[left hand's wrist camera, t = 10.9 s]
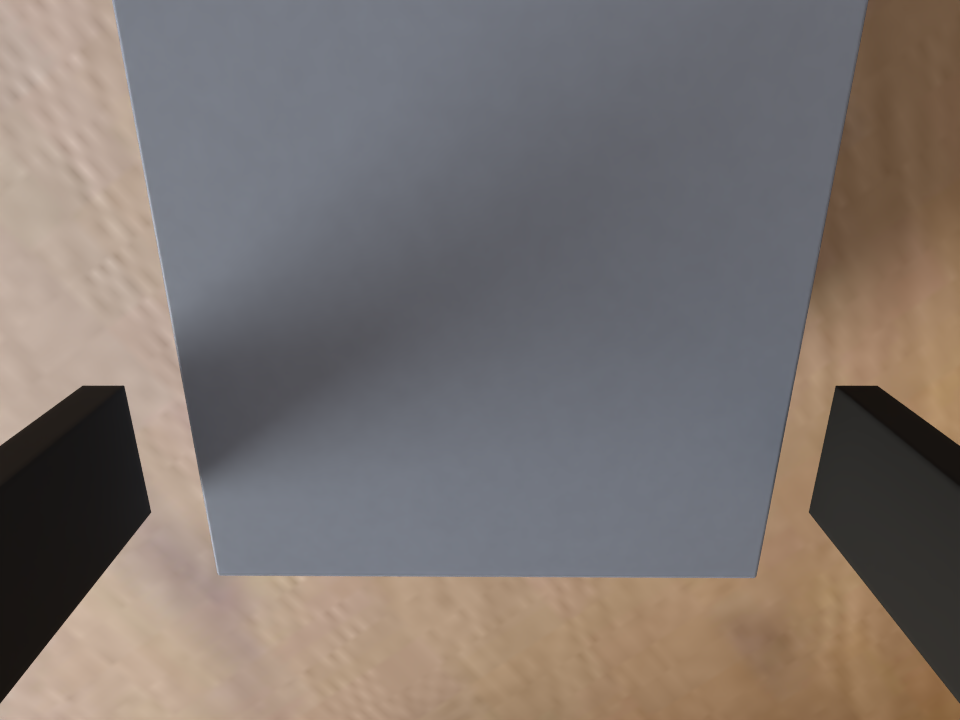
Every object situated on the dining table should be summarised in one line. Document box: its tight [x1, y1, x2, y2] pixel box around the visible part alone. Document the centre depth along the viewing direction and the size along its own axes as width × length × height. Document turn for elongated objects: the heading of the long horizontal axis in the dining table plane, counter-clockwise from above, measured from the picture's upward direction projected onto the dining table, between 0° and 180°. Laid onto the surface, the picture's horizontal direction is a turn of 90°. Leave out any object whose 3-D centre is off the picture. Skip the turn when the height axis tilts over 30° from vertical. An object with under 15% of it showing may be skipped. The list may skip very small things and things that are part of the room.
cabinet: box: [112, 0, 868, 578], centre depth 15 cm, size 22×11×11 cm, turn 0°
